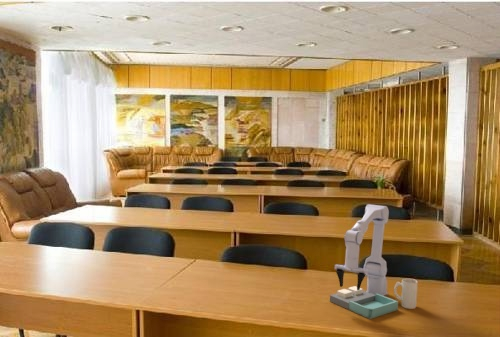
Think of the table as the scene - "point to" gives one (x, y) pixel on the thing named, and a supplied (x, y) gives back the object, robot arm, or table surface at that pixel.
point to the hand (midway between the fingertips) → (349, 287)
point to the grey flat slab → (352, 299)
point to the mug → (407, 292)
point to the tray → (374, 307)
